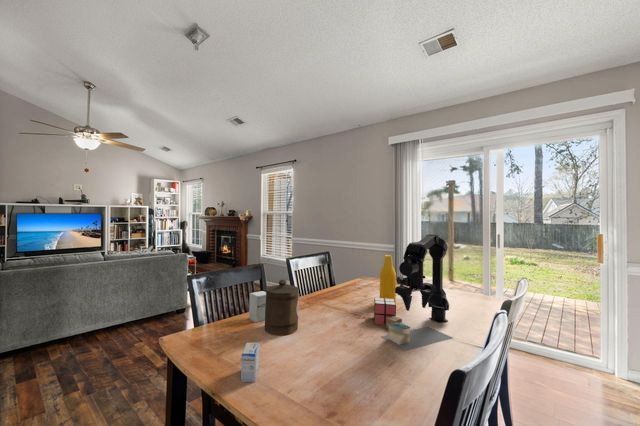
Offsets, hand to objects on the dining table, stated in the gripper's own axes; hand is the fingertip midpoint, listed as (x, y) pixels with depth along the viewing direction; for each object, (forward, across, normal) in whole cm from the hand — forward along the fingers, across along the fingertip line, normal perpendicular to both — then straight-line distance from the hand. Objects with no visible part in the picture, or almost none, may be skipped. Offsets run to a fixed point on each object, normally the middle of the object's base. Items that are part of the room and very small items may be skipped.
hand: (415, 309), depth 120 cm
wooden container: (+12, +49, -32) cm, 60 cm away
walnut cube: (+12, +2, -11) cm, 16 cm away
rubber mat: (+12, 0, +1) cm, 12 cm away
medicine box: (+12, +70, -1) cm, 71 cm away
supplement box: (+12, +55, -48) cm, 74 cm away
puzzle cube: (+12, 0, -20) cm, 24 cm away
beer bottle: (+12, -18, -39) cm, 45 cm away
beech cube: (+6, +9, 0) cm, 11 cm away
